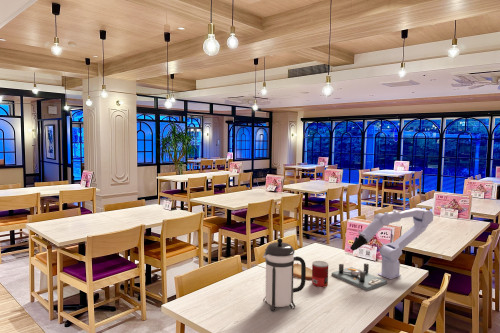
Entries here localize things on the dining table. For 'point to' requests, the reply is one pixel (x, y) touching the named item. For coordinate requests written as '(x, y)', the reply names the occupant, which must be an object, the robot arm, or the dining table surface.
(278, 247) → the coffee press
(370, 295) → the dining table surface
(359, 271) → the capstan
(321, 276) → the canned food
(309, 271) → the slice of bread
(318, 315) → the dining table surface
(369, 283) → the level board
